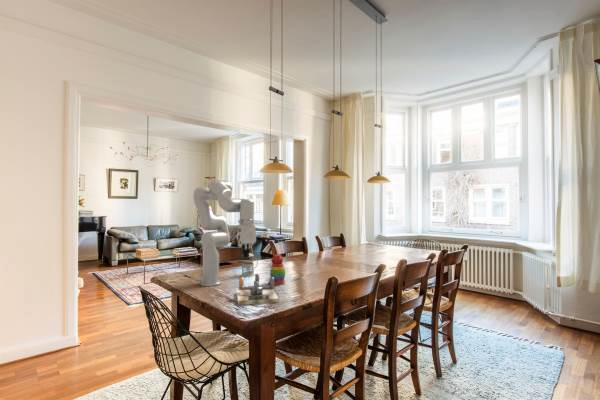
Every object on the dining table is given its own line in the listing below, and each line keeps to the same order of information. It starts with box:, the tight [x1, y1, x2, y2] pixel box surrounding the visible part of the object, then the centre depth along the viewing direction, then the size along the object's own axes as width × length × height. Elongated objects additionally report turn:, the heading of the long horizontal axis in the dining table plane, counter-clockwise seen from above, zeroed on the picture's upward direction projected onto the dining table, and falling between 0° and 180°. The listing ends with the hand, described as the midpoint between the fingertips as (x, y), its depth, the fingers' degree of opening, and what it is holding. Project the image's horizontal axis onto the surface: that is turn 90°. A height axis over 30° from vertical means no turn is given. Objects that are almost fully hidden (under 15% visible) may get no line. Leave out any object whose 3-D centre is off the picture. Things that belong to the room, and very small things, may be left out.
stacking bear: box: [267, 253, 286, 286], centre depth 199 cm, size 11×10×18 cm
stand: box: [235, 289, 280, 306], centre depth 167 cm, size 20×21×4 cm
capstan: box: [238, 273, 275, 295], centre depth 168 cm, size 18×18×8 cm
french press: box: [240, 252, 259, 278], centre depth 218 cm, size 10×12×25 cm
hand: (245, 256), depth 171 cm, fingers closed
